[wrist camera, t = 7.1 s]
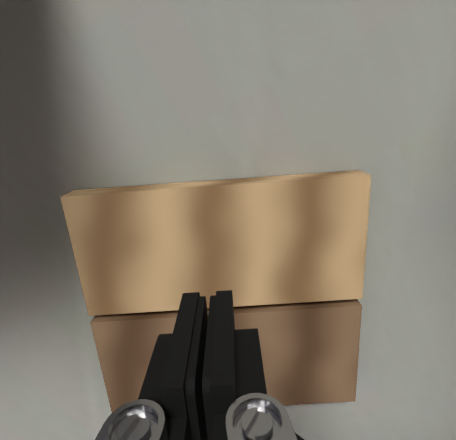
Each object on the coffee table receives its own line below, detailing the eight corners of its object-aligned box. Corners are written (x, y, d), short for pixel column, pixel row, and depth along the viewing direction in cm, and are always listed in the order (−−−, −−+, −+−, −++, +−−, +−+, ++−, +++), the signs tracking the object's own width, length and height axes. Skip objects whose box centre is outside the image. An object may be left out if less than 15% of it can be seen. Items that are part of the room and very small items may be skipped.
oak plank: (358, 170, 22) (371, 175, 20) (352, 284, 25) (362, 298, 23) (74, 189, 22) (60, 196, 21) (99, 300, 25) (88, 315, 23)
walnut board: (351, 291, 25) (361, 305, 23) (346, 381, 28) (355, 401, 26) (100, 307, 25) (90, 322, 24) (120, 395, 28) (112, 415, 26)
